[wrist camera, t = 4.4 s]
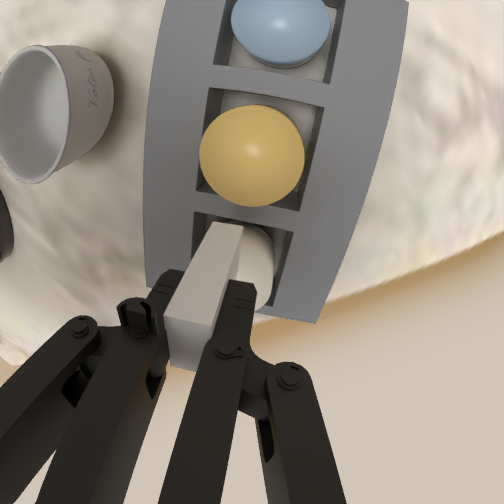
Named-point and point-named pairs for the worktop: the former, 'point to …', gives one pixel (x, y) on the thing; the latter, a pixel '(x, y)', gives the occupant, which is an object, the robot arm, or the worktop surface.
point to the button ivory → (256, 260)
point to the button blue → (281, 30)
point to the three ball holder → (318, 156)
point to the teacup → (52, 109)
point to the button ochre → (252, 155)
